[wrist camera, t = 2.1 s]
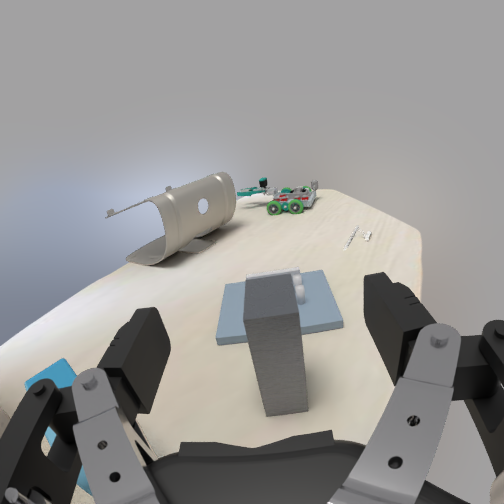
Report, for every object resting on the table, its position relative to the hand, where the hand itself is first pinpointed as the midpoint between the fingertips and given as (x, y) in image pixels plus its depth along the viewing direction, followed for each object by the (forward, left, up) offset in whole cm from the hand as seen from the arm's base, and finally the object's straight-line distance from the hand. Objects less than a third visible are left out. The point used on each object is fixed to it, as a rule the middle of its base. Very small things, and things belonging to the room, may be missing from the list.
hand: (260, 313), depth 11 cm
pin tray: (0, +27, -18) cm, 33 cm away
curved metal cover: (-23, +61, -18) cm, 68 cm away
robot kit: (+3, +82, -18) cm, 84 cm away
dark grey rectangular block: (0, +11, -18) cm, 21 cm away
